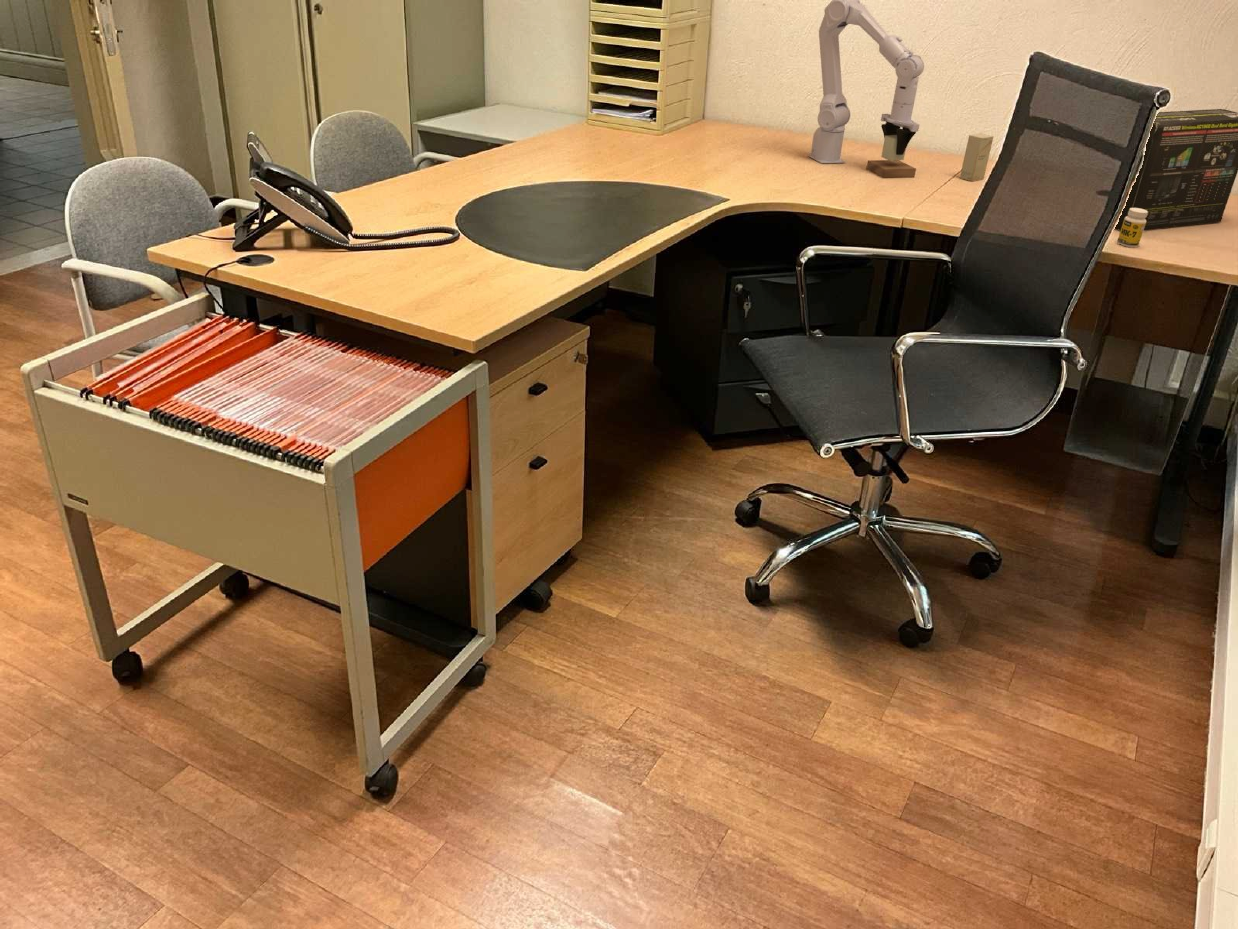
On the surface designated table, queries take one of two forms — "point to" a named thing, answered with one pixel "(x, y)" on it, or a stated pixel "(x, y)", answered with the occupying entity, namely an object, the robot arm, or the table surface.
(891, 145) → the sage block
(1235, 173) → the router box
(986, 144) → the skincare box
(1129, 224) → the supplement bottle
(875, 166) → the walnut block
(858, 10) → the robot arm
